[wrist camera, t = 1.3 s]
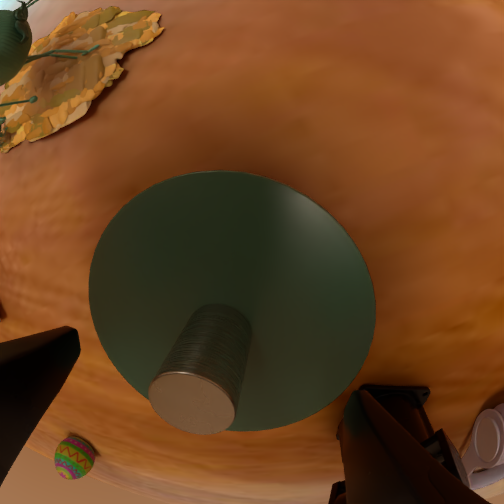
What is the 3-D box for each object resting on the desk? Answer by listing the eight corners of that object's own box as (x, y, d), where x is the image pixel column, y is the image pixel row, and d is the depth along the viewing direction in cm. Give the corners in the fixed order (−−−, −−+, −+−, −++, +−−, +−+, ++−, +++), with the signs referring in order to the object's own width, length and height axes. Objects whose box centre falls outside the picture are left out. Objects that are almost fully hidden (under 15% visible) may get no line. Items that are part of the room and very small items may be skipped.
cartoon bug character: (-8, 85, 16) (-123, 66, 2) (162, -12, 15) (89, -139, 1) (0, 176, 19) (-136, 199, 4) (185, 87, 18) (70, -46, 3)
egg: (61, 427, 27) (38, 457, 22) (90, 437, 27) (68, 471, 21) (76, 450, 29) (57, 480, 23) (104, 460, 28) (86, 493, 22)
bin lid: (401, 202, 10) (480, 234, 5) (324, 428, 13) (330, 511, 8) (104, 156, 11) (9, 162, 6) (111, 382, 14) (65, 447, 9)
